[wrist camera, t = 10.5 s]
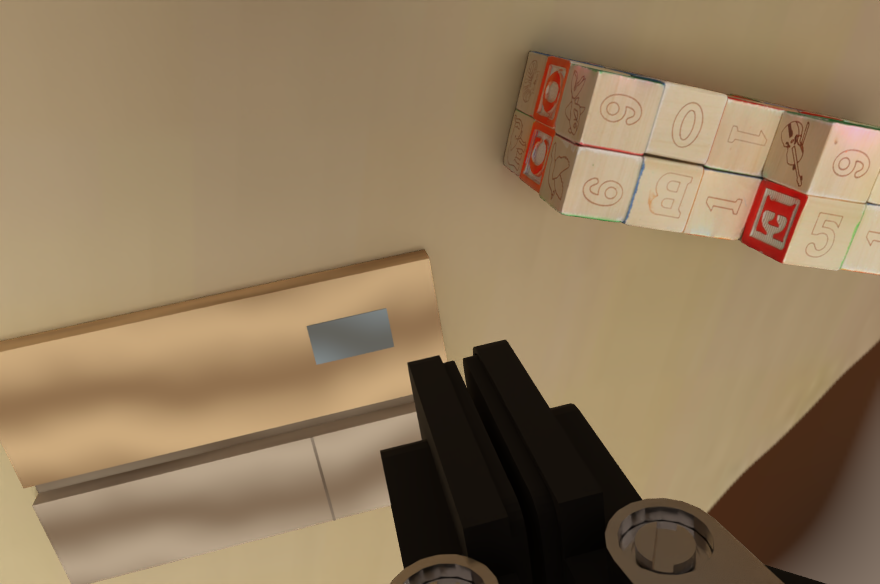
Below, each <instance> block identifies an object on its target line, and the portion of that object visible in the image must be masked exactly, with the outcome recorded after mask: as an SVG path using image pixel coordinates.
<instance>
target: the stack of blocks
mask: <svg viewBox="0 0 880 584" xmlns="http://www.w3.org/2000/svg"><path fill="white" fill-rule="evenodd" d="M504 165H505V166H506V167H507V168H508V169H509V170H511V171H512V172H513V173H515V174H516V175H518V176H519V177H520V179H521V180H522V181H523V182H525V183H526V184H527V185H529V186H530V187H531V188H532V189H534V190H535V191H537V192H538V193H539V195H540V198H542V199H543V200H544V201H545V202H547V203H548V204H549V205H550V206H551V207H553V208H554V209H555V210H557V211H558V212H559V213H561V214H563V215H567V216H575V217H582V218H590V219H597V220H603V221H611V222H622V223H624V224H626V225H631V226H638V227H645V228H651V229H659V230H666V231H673V232H682V233H686V234H690V235H697V236H704V237H712V238H720V239H727V240H737V239H738V240H740V241H741V242H742V243H744V244H746V245H747V246H749V247H751V248H754V249H755V250H757V251H759V252H761V253H762V254H765V255H766V256H768V257H770V258H772V259H774V260H776V261H778V262H780V263H783V264H790V265H798V266H806V267H813V268H821V269H828V270H835V271H836V270H839V269H842V270H848V271H854V272H861V273H869V274H876V275H880V127H878V126H873V125H869V124H864V123H860V122H855V121H851V120H846V119H842V118H838V117H833V116H828V115H824V114H819V113H813V112H808V111H803V110H799V109H794V108H790V107H785V106H781V105H777V104H773V103H769V102H764V101H760V100H756V99H752V98H747V97H743V96H739V95H734V94H730V95H726V94H724V93H719V92H715V91H711V90H706V89H702V88H697V87H693V86H688V85H684V84H679V83H674V82H670V81H665V80H661V79H657V78H654V77H650V76H646V75H642V74H637V73H633V72H629V71H624V70H620V69H615V68H611V67H607V66H603V65H598V64H594V63H589V62H579V61H574V60H570V59H566V58H561V57H557V56H553V55H548V54H543V53H539V52H534V51H530V52H529V55H528V60H527V64H526V68H525V72H524V77H523V81H522V85H521V89H520V93H519V97H518V101H517V107H516V110H515V112H514V116H513V120H512V124H511V128H510V133H509V137H508V142H507V146H506V151H505V156H504Z"/></svg>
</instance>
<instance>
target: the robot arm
mask: <svg viewBox="0 0 880 584" xmlns="http://www.w3.org/2000/svg"><path fill="white" fill-rule="evenodd" d="M407 365H408V372H409V377H410V382H411V387H412V392H413V397H414V403H415V408H416V413H417V418H418V423H419V428H420V433H421V439H422V440H420V441H416V442H412V443H408V444H404V445H400V446H396V447H392V448H388V449H384V450H380V454H381V459H382V464H383V469H384V474H385V479H386V484H387V489H388V494H389V498H390V503H391V508H392V513H393V518H394V523H395V528H396V532H397V537H398V542H399V547H400V552H401V557H402V562H403V566H404V570H402V571H401V572H400V573H399V574H398V575H397V576H396V577H395V578H394V579H393V580H392V582H391V583H390V584H825V583H822V582H819V581H815V580H812V579H809V578H806V577H802V576H799V575H796V574H793V573H789V572H786V571H783V570H780V569H776V568H773V567H770V566H767V565H764V564H763V563H761V562H760V561H759V560H758V559H757V558H756V557H755V556H754V555H753V554H752V553H751V552H749V550H747V549H746V548H745V547H744V546H743V545H742V544H741V543H740V542H739V541H738V540H737V539H736V538H734V537H733V536H732V535H731V534H730V533H729V532H728V531H727V530H726V529H725V528H724V527H722V526H721V525H720V524H719V523H718V522H717V521H716V520H715V519H714V518H713V517H711V516H710V515H708V514H707V513H706V512H704V511H703V510H701V509H700V508H698V507H695V506H693V505H690V504H688V503H685V502H683V501H677V500H672V499H666V498H657V499H644V500H642V499H641V497H640V496H639V494H638V493H637V492H636V490H635V489H634V487H633V486H632V485H631V483H630V482H629V480H628V479H627V477H626V476H625V475H624V473H623V472H622V470H621V469H620V467H619V466H618V465H617V463H616V462H615V460H614V459H613V457H612V456H611V455H610V453H609V452H608V450H607V449H606V447H605V446H604V445H603V443H602V442H601V440H600V439H599V438H598V436H597V435H596V433H595V432H594V430H593V429H592V428H591V426H590V425H589V423H588V422H587V420H586V419H585V418H584V416H583V415H582V413H581V412H580V410H579V409H578V408H577V407H576V406H575V405H574V404H571V403H570V404H566V405H562V406H558V407H554V408H549V406H548V405H547V403H546V401H545V400H544V398H543V397H542V395H541V394H540V392H539V390H538V389H537V387H536V386H535V384H534V383H533V381H532V379H531V378H530V376H529V375H528V373H527V371H526V370H525V368H524V367H523V365H522V364H521V362H520V360H519V359H518V357H517V356H516V354H515V353H514V351H513V349H512V348H511V346H510V345H509V343H508V342H507V341H506V340H502V341H497V342H493V343H489V344H484V345H480V346H476V347H474V348H473V356H471V357H467V358H463V366H464V373H465V379H466V385H465V383H464V381H463V379H462V377H461V374H460V372H459V370H458V368H457V366H456V363H455V362H454V361H449V362H445V363H443V362H442V359H441V357H440V355H437V356H433V357H429V358H424V359H420V360H416V361H411V362H407ZM466 386H467V388H466Z"/></svg>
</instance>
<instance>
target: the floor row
mask: <svg viewBox="0 0 880 584" xmlns="http://www.w3.org/2000/svg"><path fill="white" fill-rule="evenodd" d="M420 440H422V439H421V433H420V428H419V423H418V418H417V413H416V408H415V403H414V397H413V394H412V395H408V396H403V397H399V398H395V399H391V400H387V401H383V402H379V403H375V404H370V405H366V406H362V407H358V408H354V409H350V410H346V411H341V412H337V413H333V414H329V415H325V416H321V417H317V418H312V419H308V420H304V421H300V422H296V423H292V424H288V425H284V426H279V427H275V428H271V429H267V430H263V431H259V432H255V433H250V434H246V435H242V436H238V437H234V438H230V439H226V440H221V441H217V442H213V443H209V444H205V445H201V446H197V447H192V448H188V449H184V450H180V451H176V452H172V453H168V454H164V455H159V456H155V457H151V458H147V459H143V460H139V461H135V462H130V463H126V464H122V465H118V466H114V467H110V468H106V469H101V470H97V471H93V472H89V473H85V474H81V475H77V476H73V477H68V478H64V479H60V480H56V481H52V482H48V483H44V484H39V485H35V487H36V489H37V491H38V495H37V497H36V499H35V501H34V503H33V505H32V506H33V508H34V510H35V512H36V514H37V516H38V518H39V520H40V522H41V524H42V526H43V528H44V530H45V532H46V534H47V536H48V538H49V540H50V542H51V544H52V546H53V548H54V550H55V552H56V554H57V556H58V558H59V560H60V562H61V564H62V566H63V568H64V570H65V572H66V574H67V576H68V578H69V580H70V582H71V584H90V583H94V582H98V581H102V580H106V579H109V578H113V577H117V576H121V575H125V574H129V573H132V572H136V571H140V570H144V569H148V568H152V567H156V566H159V565H163V564H167V563H171V562H175V561H179V560H182V559H186V558H190V557H194V556H198V555H202V554H205V553H209V552H213V551H217V550H221V549H225V548H229V547H232V546H236V545H240V544H244V543H248V542H252V541H255V540H259V539H263V538H267V537H271V536H275V535H278V534H282V533H286V532H290V531H294V530H298V529H302V528H305V527H309V526H313V525H317V524H321V523H325V522H328V521H332V520H333V521H334V520H336V519H340V518H344V517H348V516H351V515H355V514H359V513H363V512H367V511H371V510H375V509H378V508H382V507H386V506H390V505H391V503H390V498H389V494H388V489H387V484H386V479H385V474H384V469H383V464H382V459H381V454H380V450H384V449H388V448H392V447H396V446H400V445H404V444H408V443H412V442H416V441H420Z"/></svg>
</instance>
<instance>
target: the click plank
mask: <svg viewBox="0 0 880 584" xmlns="http://www.w3.org/2000/svg"><path fill="white" fill-rule="evenodd" d="M437 355H440V357H441V359H442V362H443V363H445V362H447V358H446V352H445V346H444V340H443V335H442V329H441V323H440V317H439V311H438V306H437V300H436V294H435V288H434V283H433V277H432V271H431V265H430V259H429V257H428V255H427V253H426V252H425V250H420V251H415V252H410V253H406V254H401V255H396V256H392V257H387V258H383V259H378V260H373V261H369V262H364V263H360V264H355V265H350V266H346V267H341V268H336V269H332V270H327V271H323V272H318V273H313V274H309V275H304V276H299V277H295V278H290V279H286V280H281V281H276V282H272V283H267V284H263V285H258V286H253V287H249V288H244V289H239V290H235V291H230V292H226V293H221V294H216V295H212V296H207V297H203V298H198V299H193V300H189V301H184V302H179V303H175V304H170V305H166V306H161V307H156V308H152V309H147V310H143V311H138V312H133V313H129V314H124V315H119V316H115V317H110V318H106V319H101V320H96V321H92V322H87V323H83V324H78V325H73V326H69V327H64V328H59V329H55V330H50V331H46V332H41V333H36V334H32V335H27V336H23V337H18V338H13V339H9V340H4V341H0V441H1V443H2V445H3V447H4V449H5V451H6V454H7V456H8V458H9V460H10V462H11V464H12V466H13V468H14V470H15V472H16V474H17V476H18V478H19V480H20V482H21V484H22V486H23V488H27V487H31V486H35V485H39V484H44V483H48V482H52V481H56V480H60V479H64V478H68V477H73V476H77V475H81V474H85V473H89V472H93V471H97V470H101V469H106V468H110V467H114V466H118V465H122V464H126V463H130V462H135V461H139V460H143V459H147V458H151V457H155V456H159V455H164V454H168V453H172V452H176V451H180V450H184V449H188V448H192V447H197V446H201V445H205V444H209V443H213V442H217V441H221V440H226V439H230V438H234V437H238V436H242V435H246V434H250V433H255V432H259V431H263V430H267V429H271V428H275V427H279V426H284V425H288V424H292V423H296V422H300V421H304V420H308V419H312V418H317V417H321V416H325V415H329V414H333V413H337V412H341V411H346V410H350V409H354V408H358V407H362V406H366V405H370V404H375V403H379V402H383V401H387V400H391V399H395V398H399V397H403V396H408V395H412V394H413V392H412V387H411V382H410V377H409V372H408V365H407V362H411V361H416V360H420V359H424V358H429V357H433V356H437Z"/></svg>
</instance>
